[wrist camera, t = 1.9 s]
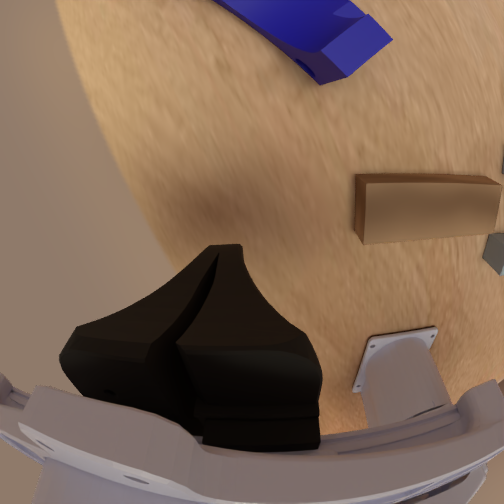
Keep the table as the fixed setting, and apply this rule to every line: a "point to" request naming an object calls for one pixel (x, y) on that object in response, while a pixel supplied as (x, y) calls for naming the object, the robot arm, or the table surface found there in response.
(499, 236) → the end cap
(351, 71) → the cable clip
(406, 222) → the slat
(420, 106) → the table surface
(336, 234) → the table surface
